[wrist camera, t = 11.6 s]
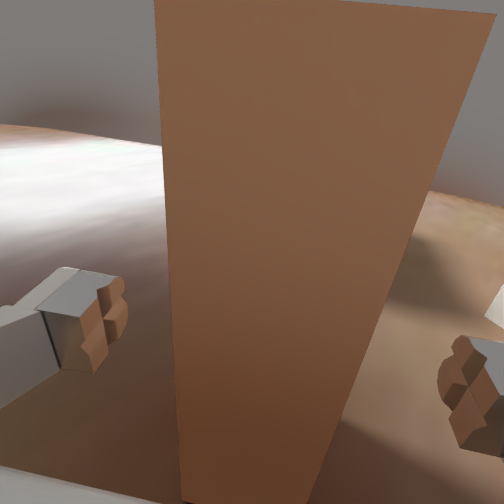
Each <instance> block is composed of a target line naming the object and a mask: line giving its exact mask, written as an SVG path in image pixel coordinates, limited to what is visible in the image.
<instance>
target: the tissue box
mask: <svg viewBox="0 0 504 504" xmlns="http://www.w3.org/2000/svg"><path fill="white" fill-rule="evenodd" d="M484 316H485V317H486V318H488V319H489V320H491V321H492V322H494V323H495V324H497V325H498V326H500V327H501V328H503V329H504V284H503V286H502V287H501V289H500V291H499V292H498V294H497V296H496V297H495V299H494V301H493V302H492V304H491V306H490V307H489V309H488V310H487V312H486V314H485V315H484Z"/></svg>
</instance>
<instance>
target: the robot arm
mask: <svg viewBox="0 0 504 504" xmlns="http://www.w3.org/2000/svg"><path fill="white" fill-rule="evenodd" d="M124 292H125V285H124V280H123V279H122V278H120V277H118V276H113V275H108V274H103V273H98V272H93V271H87V270H80V269H75V268H70V267H61V268H58V269H57V270H56V271H54V272H53V273H52V274H51V275H50V276H48V277H47V278H46V279H45V280H44V281H42V282H41V283H40V284H39V285H37V286H36V287H35V288H34V289H33V290H31V291H30V292H29V293H28V294H27V295H25V296H24V297H23V298H22V299H20V300H19V301H18V302H17V303H16V304H14V305H13V306H10V305H5V306H2V307H0V409H1V408H3V407H4V406H6V405H7V404H9V403H10V402H12V401H14V400H15V399H17V398H18V397H20V396H21V395H23V394H24V393H26V392H28V391H29V390H31V389H32V388H34V387H35V386H37V385H38V384H40V383H42V382H43V381H45V380H46V379H48V378H49V377H51V376H52V375H54V374H56V373H57V372H59V371H60V369H65V370H71V371H77V372H82V373H88V374H95V372H96V371H97V369H98V368H99V367H100V365H101V364H102V362H103V361H104V359H105V358H106V357H107V355H108V354H109V349H108V345H109V344H111V343H112V342H114V341H116V340H118V339H119V338H120V336H121V335H122V333H123V332H124V329H125V327H126V324H127V321H128V312H129V311H128V304H127V303H126V301H125V300H124V299H123V298H122V297H121V295H122V294H123V293H124ZM451 348H452V350H453V353H454V355H452V356H451V357H449V358H447V359H445V360H443V362H442V364H441V366H440V368H439V371H438V380H437V383H438V390H439V393H440V396H441V399H442V401H443V402H444V403H445V404H446V405H447V406H448V407H449V408H450V409H451V410H452V413H451V415H450V417H449V421H450V424H451V426H452V429H453V432H454V434H455V437H456V440H457V442H458V445H459V448H461V449H465V450H470V451H474V452H478V453H483V454H487V455H491V456H496V457H500V458H503V459H502V461H503V462H504V342H501V341H494V340H488V339H482V338H476V337H470V336H464V335H461V336H459V337H458V338H456V339H455V341H454V343H453V344H452V346H451ZM0 504H161V503H157V502H153V501H148V500H144V499H140V498H136V497H132V496H127V495H123V494H119V493H115V492H110V491H106V490H102V489H98V488H93V487H89V486H85V485H81V484H76V483H72V482H68V481H64V480H60V479H55V478H51V477H47V476H43V475H38V474H34V473H30V472H26V471H21V470H17V469H13V468H9V467H4V466H0Z"/></svg>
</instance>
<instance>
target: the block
mask: <svg viewBox="0 0 504 504" xmlns="http://www.w3.org/2000/svg"><path fill="white" fill-rule="evenodd" d="M154 10H155V29H156V45H157V46H156V47H157V65H158V83H159V100H160V118H161V137H162V155H163V173H164V191H165V209H166V227H167V245H168V263H169V281H170V299H171V317H172V335H173V353H174V371H175V389H176V407H177V425H178V443H179V461H180V479H181V497H182V501H185V502H190V503H194V504H307V502H308V500H309V497H310V494H311V492H312V489H313V487H314V484H315V482H316V479H317V476H318V474H319V471H320V469H321V466H322V464H323V461H324V458H325V456H326V453H327V451H328V448H329V446H330V443H331V440H332V438H333V435H334V433H335V430H336V428H337V425H338V422H339V420H340V417H341V415H342V412H343V410H344V407H345V404H346V402H347V399H348V397H349V394H350V391H351V389H352V386H353V384H354V381H355V379H356V376H357V373H358V371H359V368H360V366H361V363H362V361H363V358H364V355H365V353H366V350H367V348H368V345H369V343H370V340H371V337H372V335H373V332H374V330H375V327H376V325H377V322H378V319H379V317H380V314H381V312H382V309H383V307H384V304H385V301H386V299H387V296H388V294H389V291H390V289H391V286H392V283H393V281H394V278H395V276H396V273H397V270H398V268H399V265H400V263H401V260H402V258H403V255H404V252H405V250H406V247H407V245H408V242H409V240H410V237H411V234H412V232H413V229H414V227H415V224H416V222H417V219H418V216H419V214H420V211H421V209H422V206H423V204H424V201H425V198H426V196H427V193H428V191H429V188H430V185H431V183H432V180H433V178H434V175H435V172H436V170H437V168H438V165H439V162H440V160H441V157H442V155H443V152H444V149H445V147H446V144H447V142H448V139H449V137H450V134H451V131H452V129H453V126H454V124H455V121H456V119H457V116H458V113H459V111H460V108H461V106H462V103H463V101H464V98H465V95H466V92H467V90H468V88H469V85H470V82H471V80H472V77H473V75H474V72H475V70H476V67H477V64H478V62H479V59H480V56H481V54H482V52H483V49H484V46H485V44H486V41H487V38H488V36H489V34H490V31H491V28H492V26H493V23H494V21H495V18H496V16H497V14H491V13H479V12H467V11H456V10H444V9H432V8H420V7H410V6H398V5H387V4H374V3H363V2H351V1H340V0H154Z"/></svg>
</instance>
